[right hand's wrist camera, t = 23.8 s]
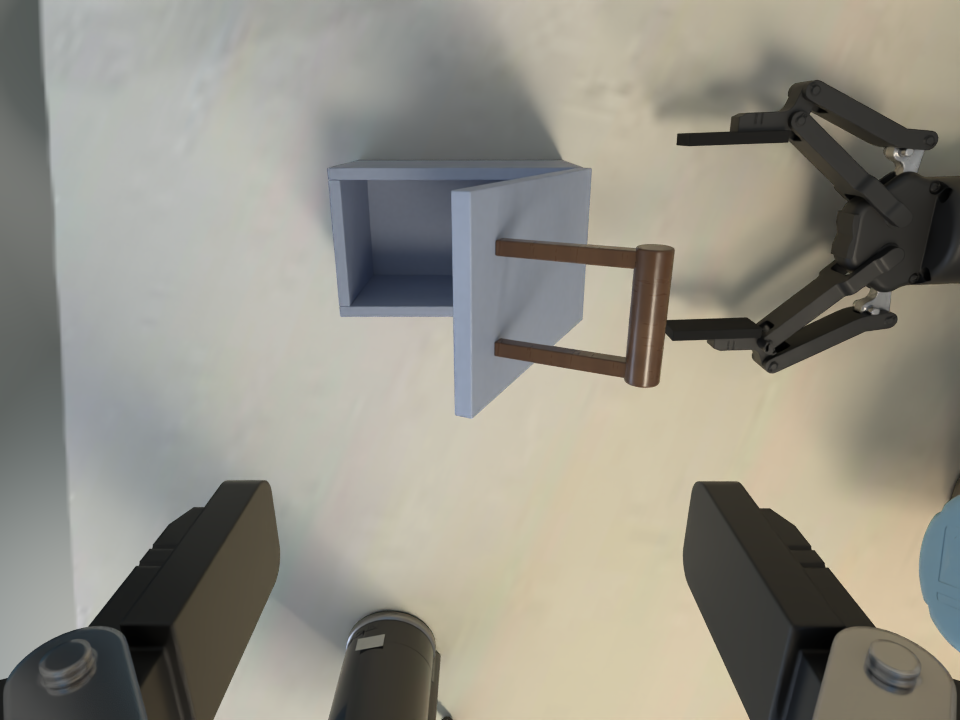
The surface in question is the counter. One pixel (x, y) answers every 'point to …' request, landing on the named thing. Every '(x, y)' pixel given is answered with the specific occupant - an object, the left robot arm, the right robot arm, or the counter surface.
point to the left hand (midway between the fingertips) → (674, 240)
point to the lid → (541, 286)
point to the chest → (405, 230)
